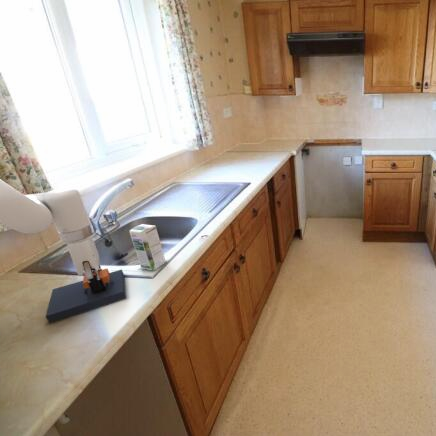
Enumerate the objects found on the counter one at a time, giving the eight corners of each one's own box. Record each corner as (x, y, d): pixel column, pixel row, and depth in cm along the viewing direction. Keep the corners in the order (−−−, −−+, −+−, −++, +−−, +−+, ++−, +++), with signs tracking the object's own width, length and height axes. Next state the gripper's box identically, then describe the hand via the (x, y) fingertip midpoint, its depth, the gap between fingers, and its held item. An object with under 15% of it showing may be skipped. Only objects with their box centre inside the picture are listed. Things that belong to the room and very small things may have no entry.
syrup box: (140, 269, 108) (127, 230, 102) (153, 259, 113) (142, 222, 107) (154, 271, 107) (141, 232, 101) (167, 261, 112) (155, 224, 106)
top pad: (88, 295, 93) (82, 283, 91) (89, 287, 97) (83, 274, 95) (112, 288, 96) (107, 276, 94) (112, 280, 99) (107, 268, 98)
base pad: (49, 323, 86) (45, 316, 85) (55, 295, 97) (52, 289, 96) (126, 298, 94) (123, 291, 93) (124, 275, 105) (121, 269, 104)
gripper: (63, 225, 93) (86, 277, 101) (56, 249, 80) (83, 307, 88) (94, 218, 97) (114, 269, 104) (92, 240, 83) (114, 297, 91)
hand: (99, 286), depth 96 cm, fingers closed on top pad, 5 cm apart
